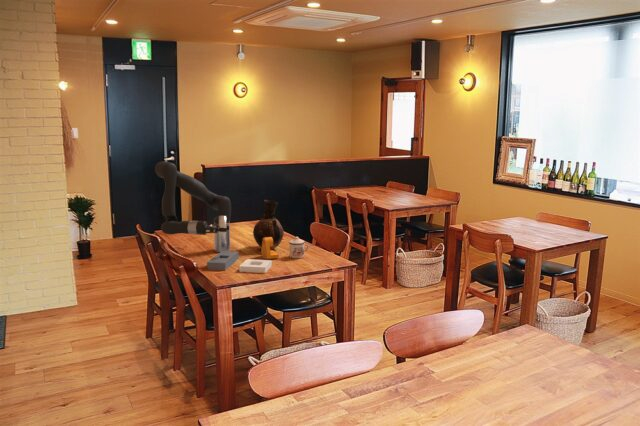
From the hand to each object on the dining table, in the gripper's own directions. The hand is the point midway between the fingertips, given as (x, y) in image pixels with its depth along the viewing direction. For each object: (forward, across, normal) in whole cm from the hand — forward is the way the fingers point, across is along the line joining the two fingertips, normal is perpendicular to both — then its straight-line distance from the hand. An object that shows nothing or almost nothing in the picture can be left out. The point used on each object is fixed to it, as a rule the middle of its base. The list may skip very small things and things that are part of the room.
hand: (227, 228), depth 310 cm
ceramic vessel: (+13, +38, +20) cm, 45 cm away
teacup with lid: (+35, +23, +20) cm, 47 cm away
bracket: (+19, +18, +20) cm, 33 cm away
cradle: (+17, -6, +20) cm, 27 cm away
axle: (-3, 0, +10) cm, 10 cm away
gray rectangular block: (-3, 0, +20) cm, 20 cm away
